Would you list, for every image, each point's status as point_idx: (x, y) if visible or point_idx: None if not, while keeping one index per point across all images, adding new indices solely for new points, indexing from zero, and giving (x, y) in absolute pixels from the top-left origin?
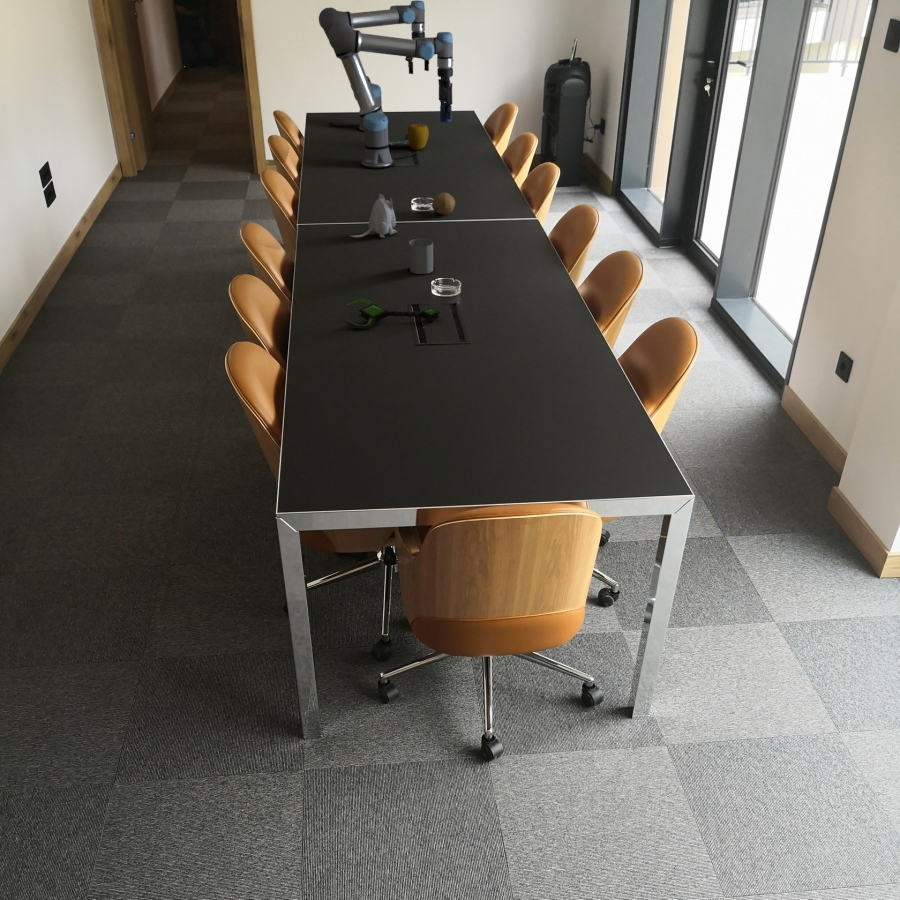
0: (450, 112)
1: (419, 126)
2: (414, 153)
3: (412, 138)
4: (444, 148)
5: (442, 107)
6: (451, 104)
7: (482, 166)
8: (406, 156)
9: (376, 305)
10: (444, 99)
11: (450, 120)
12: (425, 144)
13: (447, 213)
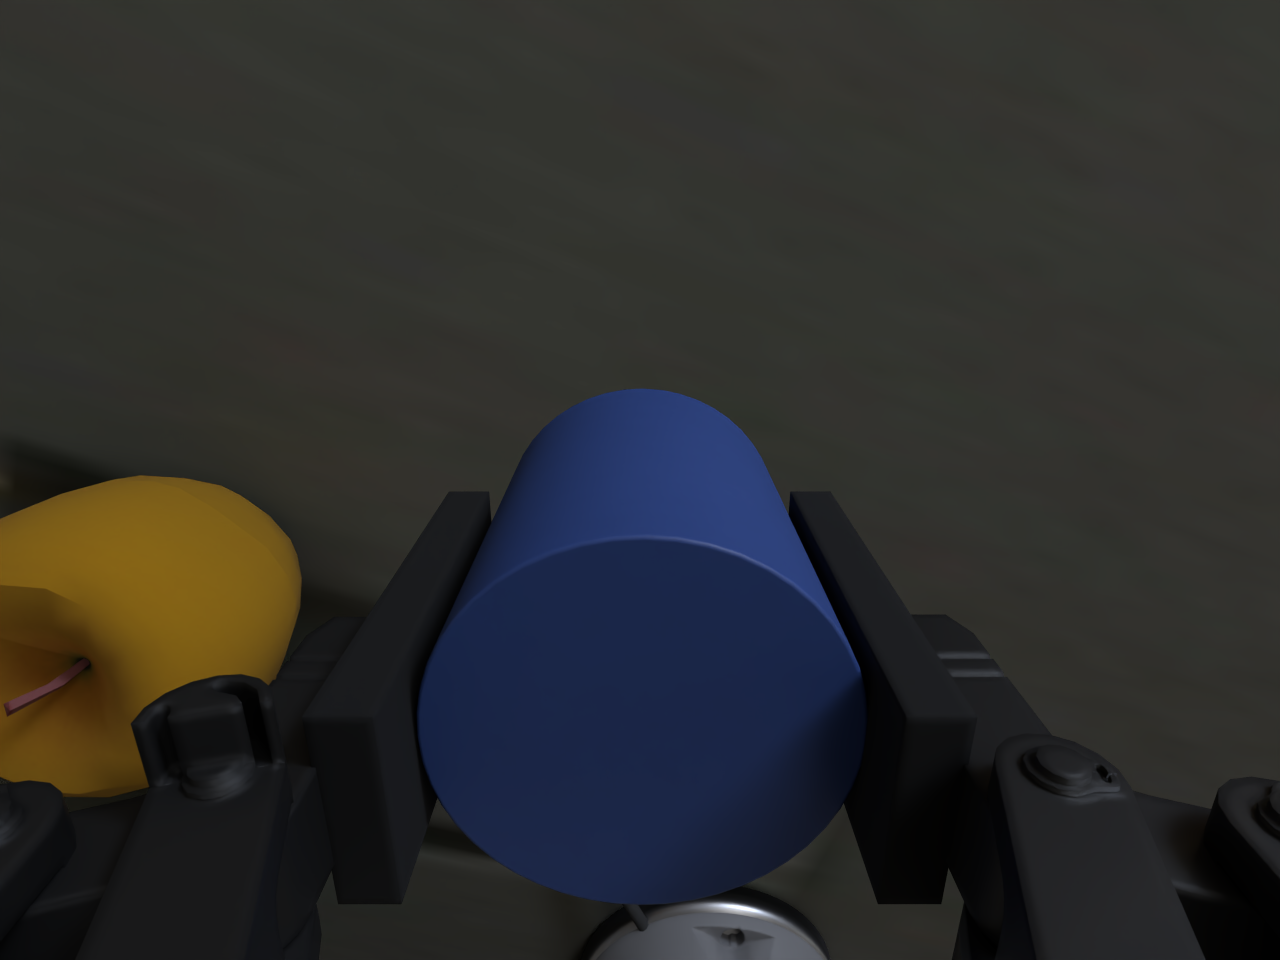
0: (876, 571)
1: (121, 697)
2: None
3: None
4: (241, 237)
5: (757, 873)
6: (1269, 811)
7: (1255, 93)
8: None
9: None
10: (252, 874)
11: (760, 459)
12: (229, 492)
13: None
